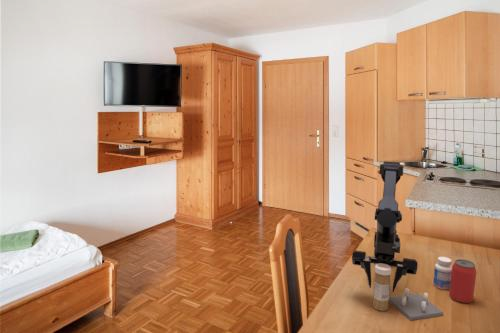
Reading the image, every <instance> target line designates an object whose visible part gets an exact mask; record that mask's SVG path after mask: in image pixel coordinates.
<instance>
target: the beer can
mask: <svg viewBox="0 0 500 333" xmlns="http://www.w3.org/2000/svg"><path fill="white" fill-rule="evenodd" d="M451 266H452V273H451V282H450V289H449V292H448V294H449V297H450V298H451V299H453V300H454V301H456V302H458V303H462V304H463V303H464V304H467V303H472V302H473V300H474V296H475V286H476V281H477V278H476V277H477V269H476V264H475V263H474V262H472V261H469V260H467V259H463V258H462V259H455V260H454V263H453V264H452V265H451Z"/></svg>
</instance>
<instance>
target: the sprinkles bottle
mask: <svg viewBox="0 0 500 333" xmlns="http://www.w3.org/2000/svg"><path fill="white" fill-rule="evenodd" d="M374 272H375V273H374V286H373V301H372V307H373V308H374V309H376V310H377V311H382V312H383V311H384V312H385V311H387V310H389V301H388V300H389V297H390V289H391V288H390V287H391V274H392V266H389V265H387V264H383V263H379V264H375V266H374Z"/></svg>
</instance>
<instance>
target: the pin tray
mask: <svg viewBox="0 0 500 333" xmlns="http://www.w3.org/2000/svg"><path fill="white" fill-rule="evenodd" d="M388 303H390V304H391V305H392V306H394V307H395V308H396V309H397V310H398V311H399V312H400V313H402V315H403V316H405V317H406V318H407V319H408V320H409V321H417V320H422V319H427V318H434V317H441V316H444V311H443V310H441V309H440V308H439V307H437V306H436V305H434V304H433V303H432V302H431V301H429V293H428V292H424V293H423V295H421V294H420V293H418V292H415V293H410V289H409V288H408V287H405V288H404V294H400V295H395V296H394V295H393V296H389V300H388Z"/></svg>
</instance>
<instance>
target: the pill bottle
mask: <svg viewBox="0 0 500 333" xmlns="http://www.w3.org/2000/svg"><path fill="white" fill-rule="evenodd" d="M434 264H435V265H434V272H433V285H434V287H436V288H438V289H440V290H450V282H451V273H452V266H453V265H452V259H451V258H449V257H447V256H438V257H437V263H434Z"/></svg>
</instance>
